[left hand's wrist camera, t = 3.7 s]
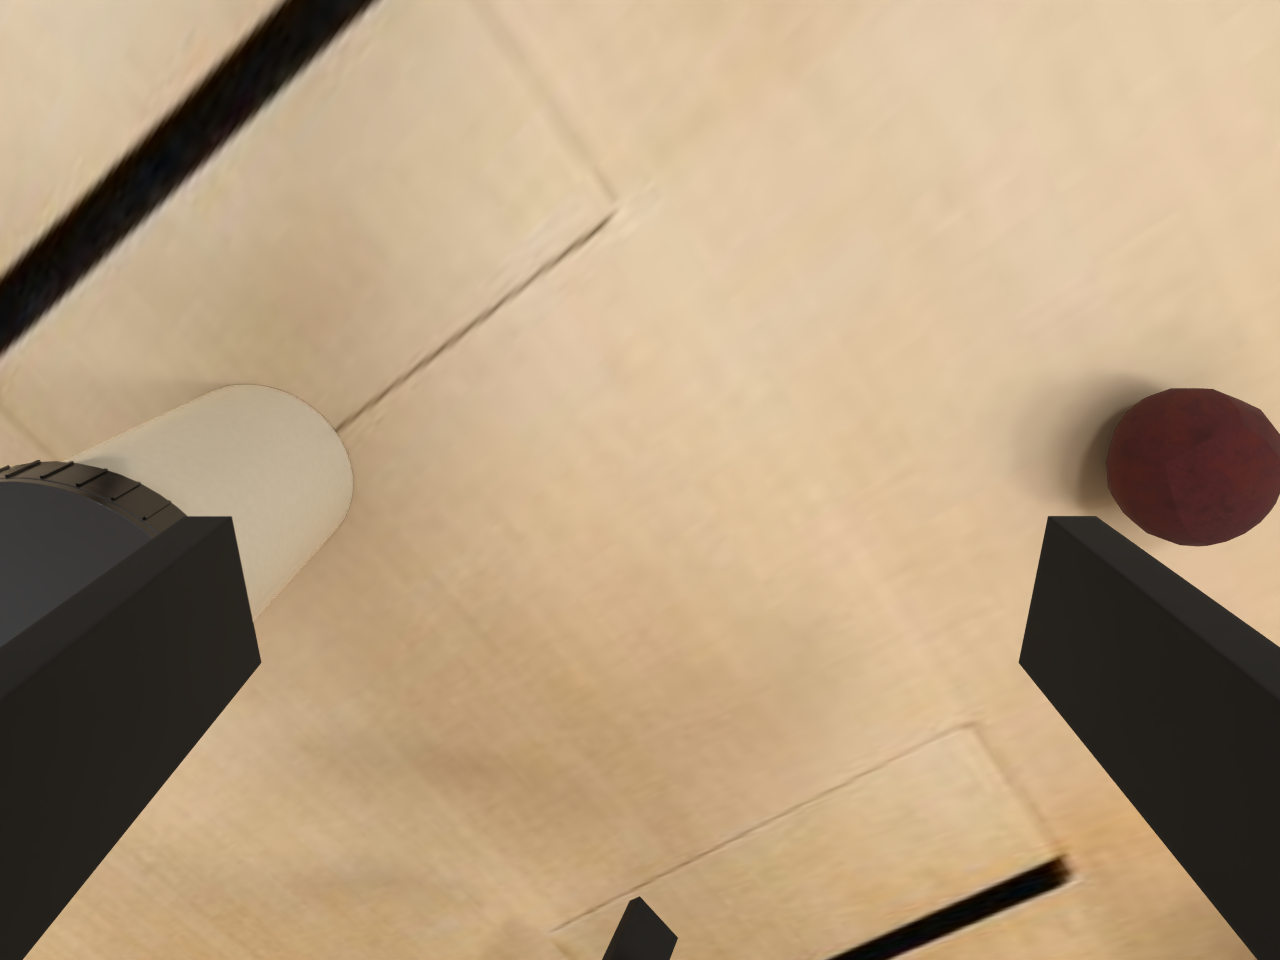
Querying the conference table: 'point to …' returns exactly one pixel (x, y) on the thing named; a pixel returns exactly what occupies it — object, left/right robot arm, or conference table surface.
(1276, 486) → the dark red sphere
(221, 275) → the conference table surface
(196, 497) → the jar
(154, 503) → the lid
